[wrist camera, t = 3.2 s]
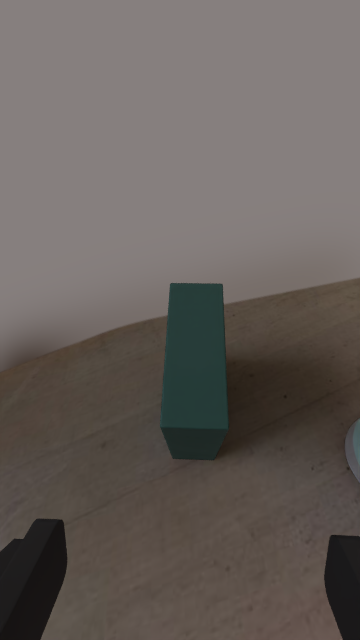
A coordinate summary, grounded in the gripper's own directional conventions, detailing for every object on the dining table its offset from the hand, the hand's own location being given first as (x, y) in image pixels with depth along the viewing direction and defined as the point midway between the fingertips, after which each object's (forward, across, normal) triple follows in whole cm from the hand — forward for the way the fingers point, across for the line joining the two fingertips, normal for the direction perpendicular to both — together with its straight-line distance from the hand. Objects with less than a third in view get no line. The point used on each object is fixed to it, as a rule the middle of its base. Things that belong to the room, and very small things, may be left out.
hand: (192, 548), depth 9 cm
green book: (+14, 0, +3) cm, 15 cm away
